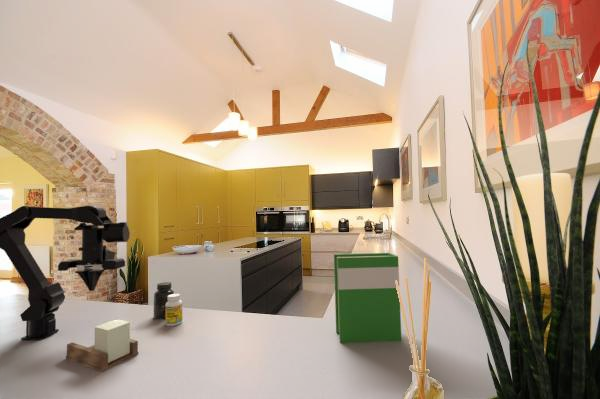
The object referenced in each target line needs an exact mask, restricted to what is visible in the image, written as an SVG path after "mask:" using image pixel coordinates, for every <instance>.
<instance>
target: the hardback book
mask: <svg viewBox="0 0 600 399" xmlns="http://www.w3.org/2000/svg"><path fill="white" fill-rule="evenodd" d="M333 264H334V266H333V268H334V300H335V304H334V305H335V306H334V307H335V332H336V334H339V343H340V344H354V343H377V342H378V343H381V342H402V322H401V301H400V302H399V298H398V294H397V290H396V284H395V280H397V281H398V285H399V286H400V270H399V269H400V268H399V256H398V255H395V254H394V253H390V252H378V253H377V252H375V253H374V252H372V253H369V252H368V253H365V252H364V253H342V254H341V253H337V254H336V253H334V254H333Z"/></svg>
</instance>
